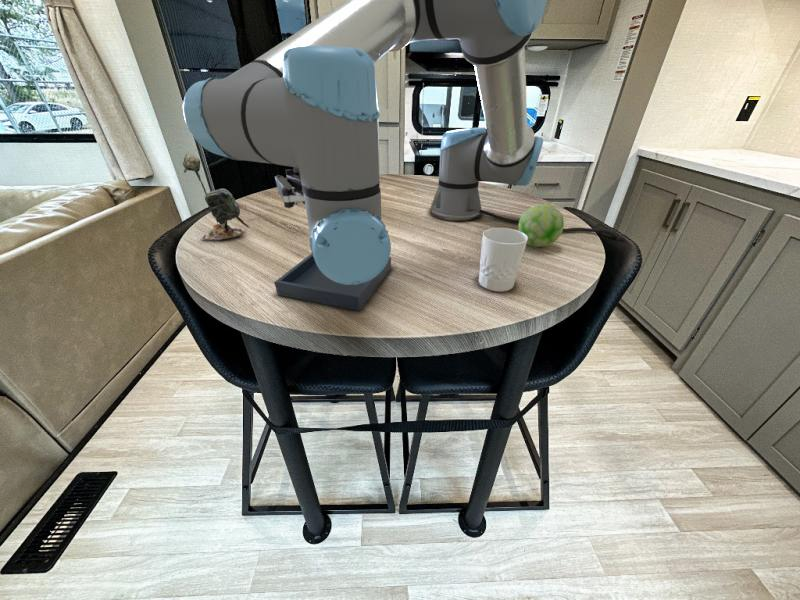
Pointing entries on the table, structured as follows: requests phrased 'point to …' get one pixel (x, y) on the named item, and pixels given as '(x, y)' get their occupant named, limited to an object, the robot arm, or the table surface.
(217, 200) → the plant with pod
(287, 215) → the table surface
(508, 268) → the white cup
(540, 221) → the decorative ball
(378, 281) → the tray
